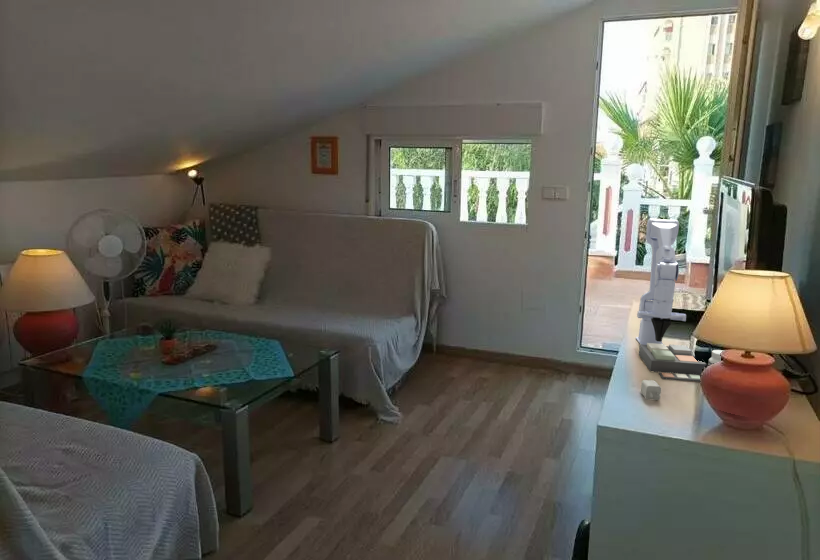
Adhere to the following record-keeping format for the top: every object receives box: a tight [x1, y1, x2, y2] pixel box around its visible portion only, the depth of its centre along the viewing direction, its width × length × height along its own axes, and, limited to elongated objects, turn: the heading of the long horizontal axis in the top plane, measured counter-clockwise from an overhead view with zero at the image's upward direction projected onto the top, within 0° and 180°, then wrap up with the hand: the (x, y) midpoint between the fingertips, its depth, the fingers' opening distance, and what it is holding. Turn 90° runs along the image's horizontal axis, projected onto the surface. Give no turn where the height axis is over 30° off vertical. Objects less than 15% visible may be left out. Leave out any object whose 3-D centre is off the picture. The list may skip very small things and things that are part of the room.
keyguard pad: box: [638, 343, 707, 375], centre depth 196 cm, size 16×16×4 cm
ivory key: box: [647, 343, 669, 352], centre depth 199 cm, size 5×5×3 cm
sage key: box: [652, 350, 675, 361], centre depth 193 cm, size 5×5×3 cm
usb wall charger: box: [640, 379, 662, 401], centre depth 169 cm, size 4×7×4 cm, turn 176°
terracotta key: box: [675, 355, 698, 362], centre depth 192 cm, size 5×5×3 cm
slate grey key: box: [668, 343, 692, 355], centre depth 199 cm, size 5×5×3 cm
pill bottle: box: [707, 349, 724, 366], centre depth 180 cm, size 6×6×10 cm
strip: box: [658, 372, 701, 383], centre depth 185 cm, size 12×4×1 cm, turn 83°
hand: (658, 340), depth 199 cm, fingers closed
